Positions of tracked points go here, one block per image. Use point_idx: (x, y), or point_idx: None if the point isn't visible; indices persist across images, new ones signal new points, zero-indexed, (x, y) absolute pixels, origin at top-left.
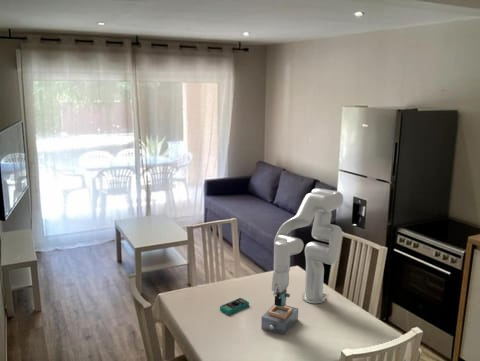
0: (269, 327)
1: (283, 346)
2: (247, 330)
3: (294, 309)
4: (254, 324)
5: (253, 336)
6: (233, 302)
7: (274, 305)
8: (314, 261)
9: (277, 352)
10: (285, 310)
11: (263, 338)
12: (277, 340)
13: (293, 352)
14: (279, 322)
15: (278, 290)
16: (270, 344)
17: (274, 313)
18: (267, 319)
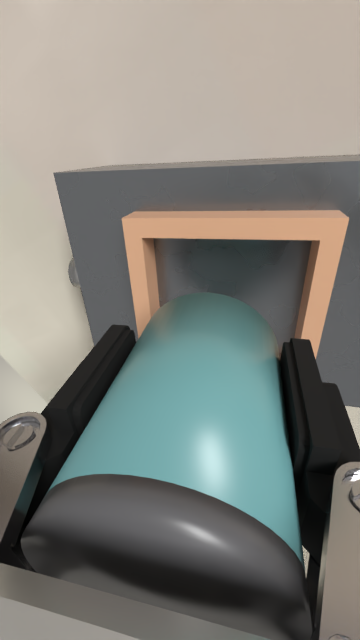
0: (73, 259)
1: (57, 346)
2: (20, 73)
3: (339, 386)
4: (123, 70)
5: (5, 167)
6: None
7: (289, 221)
8: None
9: (7, 337)
10: (288, 328)
11: (35, 236)
12: (74, 309)
13: (54, 387)
14: (93, 337)
15: (122, 564)
16: (25, 291)
17: (132, 287)
18: (74, 237)
